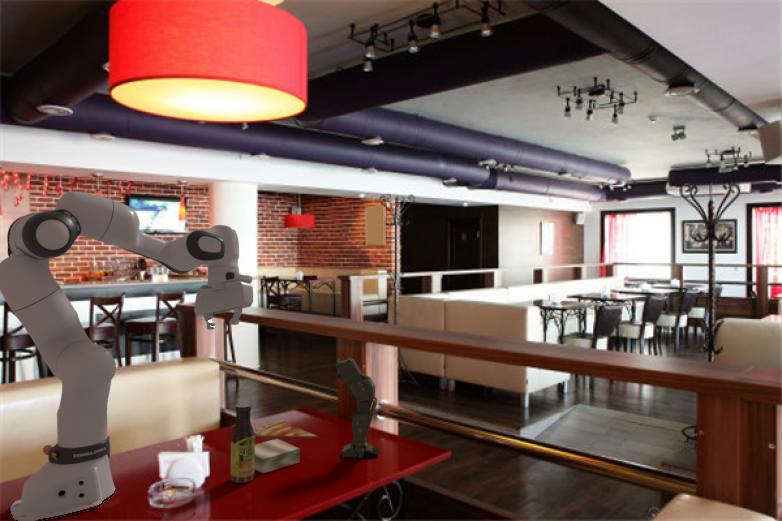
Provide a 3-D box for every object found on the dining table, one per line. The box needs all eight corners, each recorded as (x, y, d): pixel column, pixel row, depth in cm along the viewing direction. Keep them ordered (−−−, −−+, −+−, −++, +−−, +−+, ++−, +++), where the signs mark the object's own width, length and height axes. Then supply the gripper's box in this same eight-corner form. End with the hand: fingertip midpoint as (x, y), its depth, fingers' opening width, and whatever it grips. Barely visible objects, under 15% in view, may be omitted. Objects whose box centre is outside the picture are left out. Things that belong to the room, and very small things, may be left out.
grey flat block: (262, 473, 159) (262, 459, 159) (241, 462, 168) (240, 448, 168) (300, 462, 167) (299, 448, 167) (277, 451, 176) (277, 438, 176)
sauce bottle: (240, 486, 150) (239, 410, 150) (225, 480, 154) (224, 406, 154) (260, 478, 156) (259, 404, 155) (245, 473, 159) (244, 401, 159)
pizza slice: (274, 450, 179) (274, 443, 179) (240, 433, 195) (240, 427, 195) (317, 438, 189) (317, 432, 189) (281, 423, 206) (281, 418, 206)
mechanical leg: (392, 447, 175) (367, 351, 176) (389, 456, 168) (363, 356, 168) (348, 457, 177) (323, 362, 177) (344, 466, 170) (318, 367, 170)
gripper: (189, 284, 172) (188, 330, 168) (241, 271, 162) (240, 320, 159) (206, 288, 177) (205, 333, 173) (256, 275, 168) (256, 323, 164)
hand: (222, 327), depth 166 cm, fingers open, 8 cm apart
